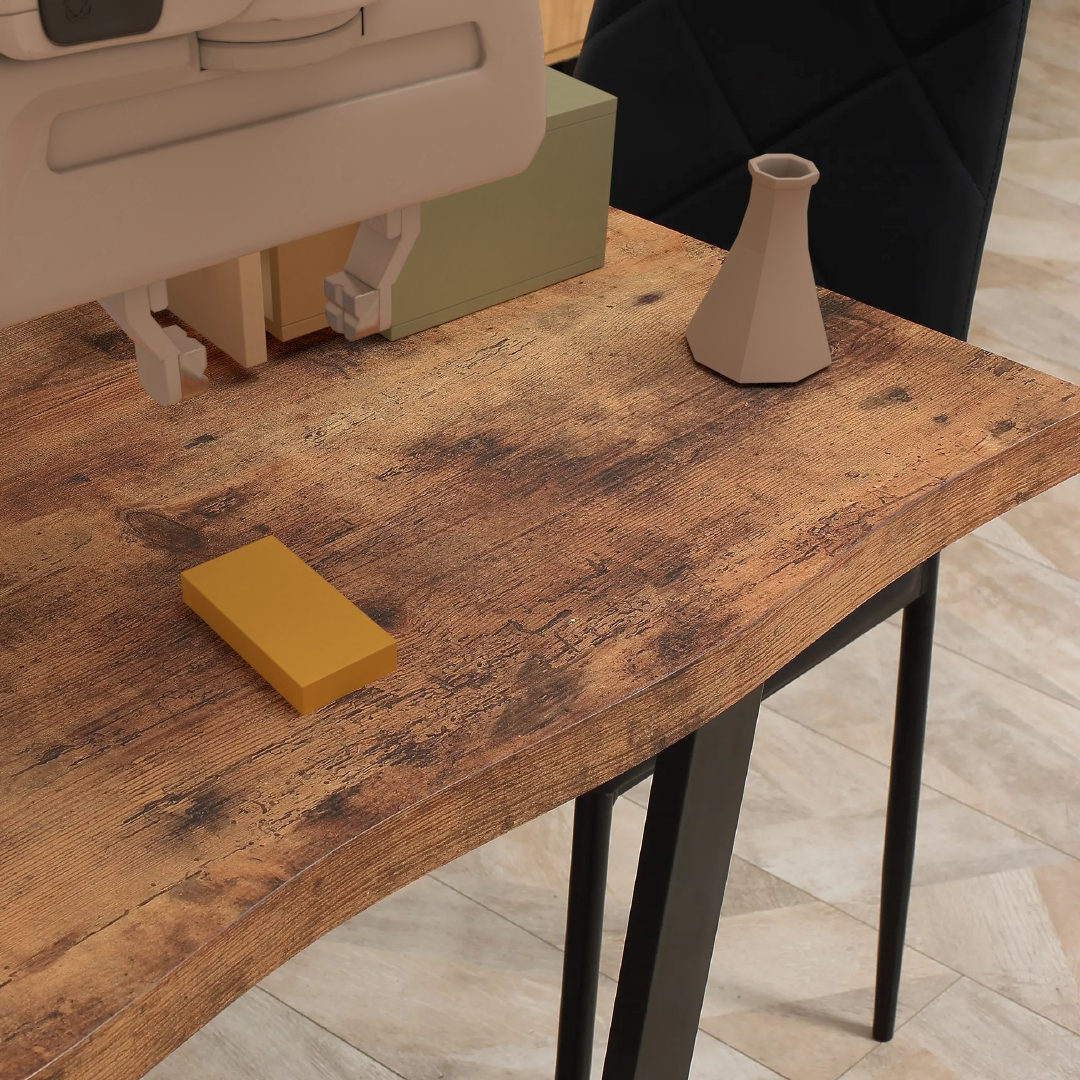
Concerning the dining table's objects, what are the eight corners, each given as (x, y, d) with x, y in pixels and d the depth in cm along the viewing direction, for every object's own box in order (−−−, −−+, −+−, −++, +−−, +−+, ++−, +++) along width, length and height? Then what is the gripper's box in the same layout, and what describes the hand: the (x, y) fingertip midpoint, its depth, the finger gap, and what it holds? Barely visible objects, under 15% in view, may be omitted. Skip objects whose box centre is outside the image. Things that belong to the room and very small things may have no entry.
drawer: (157, 400, 70) (139, 242, 66) (41, 304, 77) (17, 155, 72) (469, 292, 80) (472, 148, 76) (342, 215, 87) (338, 80, 82)
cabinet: (391, 342, 78) (389, 160, 72) (254, 251, 85) (243, 80, 79) (604, 266, 86) (617, 97, 80) (462, 189, 93) (465, 29, 87)
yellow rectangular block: (186, 635, 59) (179, 572, 57) (276, 595, 61) (272, 533, 59) (305, 751, 54) (301, 687, 52) (398, 704, 56) (397, 640, 54)
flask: (732, 400, 74) (759, 207, 69) (659, 332, 80) (679, 147, 74) (856, 373, 77) (892, 185, 71) (778, 309, 82) (806, 128, 76)
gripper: (470, -159, 49) (462, 242, 57) (-184, -66, 38) (-77, 416, 46) (605, -115, 45) (576, 308, 53) (-76, 2, 34) (20, 514, 42)
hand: (270, 360), depth 50 cm, fingers open, 5 cm apart
